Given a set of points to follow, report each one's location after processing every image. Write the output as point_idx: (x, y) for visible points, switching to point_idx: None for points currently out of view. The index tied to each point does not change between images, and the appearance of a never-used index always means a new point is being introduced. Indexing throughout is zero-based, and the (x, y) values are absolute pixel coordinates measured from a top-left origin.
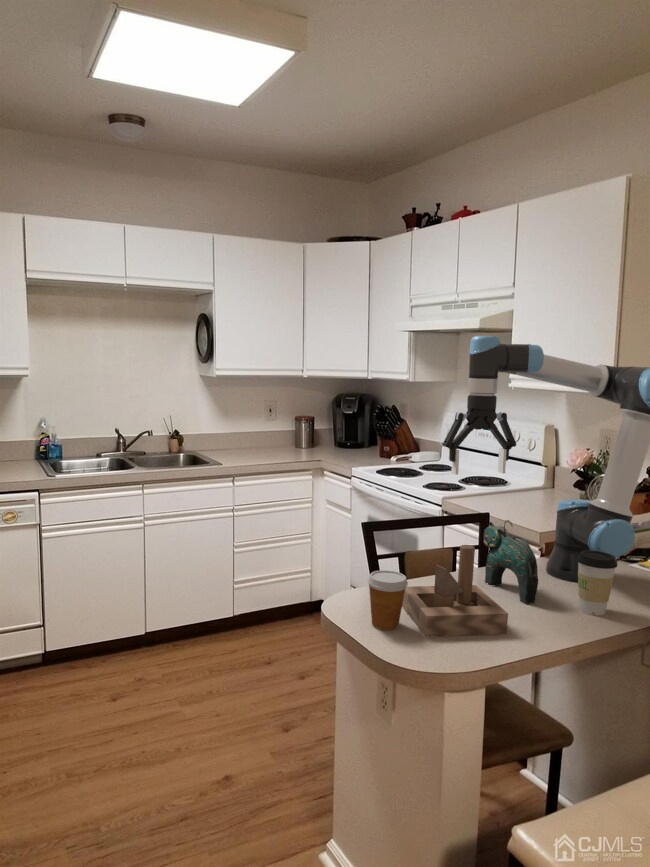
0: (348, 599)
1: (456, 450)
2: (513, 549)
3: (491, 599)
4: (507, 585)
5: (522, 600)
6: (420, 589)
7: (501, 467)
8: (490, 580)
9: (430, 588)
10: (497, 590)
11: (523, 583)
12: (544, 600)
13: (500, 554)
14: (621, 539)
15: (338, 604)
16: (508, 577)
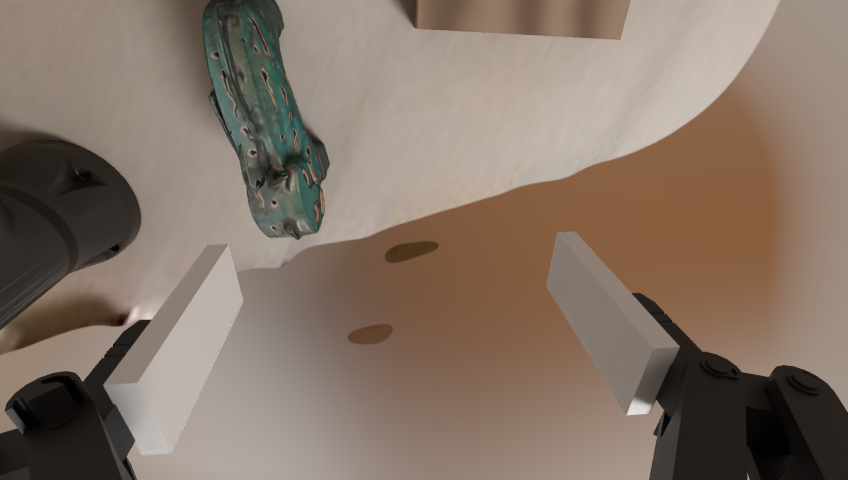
0: (688, 91)
1: (676, 349)
2: (269, 76)
3: None
4: None
5: (280, 13)
6: (585, 10)
7: (219, 284)
8: (322, 146)
9: (555, 15)
10: (317, 109)
11: (270, 8)
12: None
13: (300, 128)
14: None
15: (725, 63)
16: None
